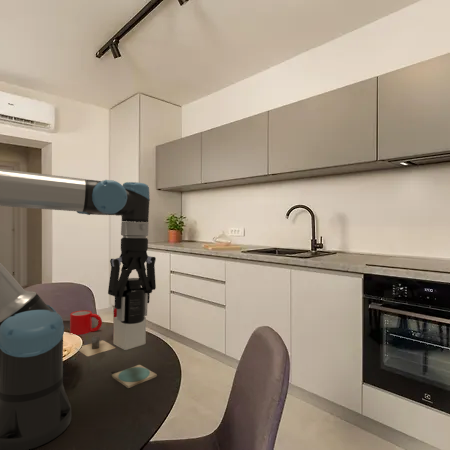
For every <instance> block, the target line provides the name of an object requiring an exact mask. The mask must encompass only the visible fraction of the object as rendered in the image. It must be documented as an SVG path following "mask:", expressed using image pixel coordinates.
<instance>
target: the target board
mask: <svg viewBox="0 0 450 450" xmlns="http://www.w3.org/2000/svg"><path fill="white" fill-rule="evenodd" d="M157 376H158V375H157V373H156V372H153V371H151V370H150V369H149V368H147V367H145V366H143V365H141V364H137V365H135V366H132V367H129V368H126V369H123V370H121V371H118V372H115V373H113V374H111V378H112V379H114V380H115V381H117V382H119V383H120V384H121V385H123V386H124V387H125V388H127V389H129V388H132V387H134V386H138V385H139V384H142V383H144V382H147V381H150V380H153V379H154V378H157Z"/></svg>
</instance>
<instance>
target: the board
mask: <svg viewBox="0 0 450 450" xmlns="http://www.w3.org/2000/svg"><path fill="white" fill-rule="evenodd" d="M81 346H82V348H81V349H80V350H79V351H78V352H80V353H81V354H83V355H85V356H86V357H91V356H94V355H97V354H100V353H103V352H106V351H108V352H109V351H111V350H114V349H117V346H115V345H112V344H111V343H109V342H107V341H105V340H100V334H94V335H92V336H91V343H89V344H85V345H81Z"/></svg>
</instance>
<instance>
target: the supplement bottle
mask: <svg viewBox="0 0 450 450" xmlns="http://www.w3.org/2000/svg"><path fill="white" fill-rule="evenodd" d="M141 285H142V279H141V278H139V277H129V278H128V281H127V284H126V287H125V290H124V293H123V297H125V315H124V321H121V322H122V323H124V324H136V323H140V322H142V321H144V318H145V317H146V316H145V290H144V289H143V288H142V286H141Z"/></svg>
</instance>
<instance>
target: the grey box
mask: <svg viewBox="0 0 450 450" xmlns="http://www.w3.org/2000/svg"><path fill="white" fill-rule="evenodd" d="M146 317H147V316H145V318H144V321H142V322H140V323H136V324H124V323H122V322H121V321H120V320H117V317H114V316H113V318H114V336H112V337H113V338H112V339H113V346H115V347H118V348H120V349H122V350H124V351H127V350H130V349H134V348H137V347H140V346H144V345H146V341H147V337H146V332H147V328H146V327H147V324H146V323H147V319H146Z"/></svg>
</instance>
